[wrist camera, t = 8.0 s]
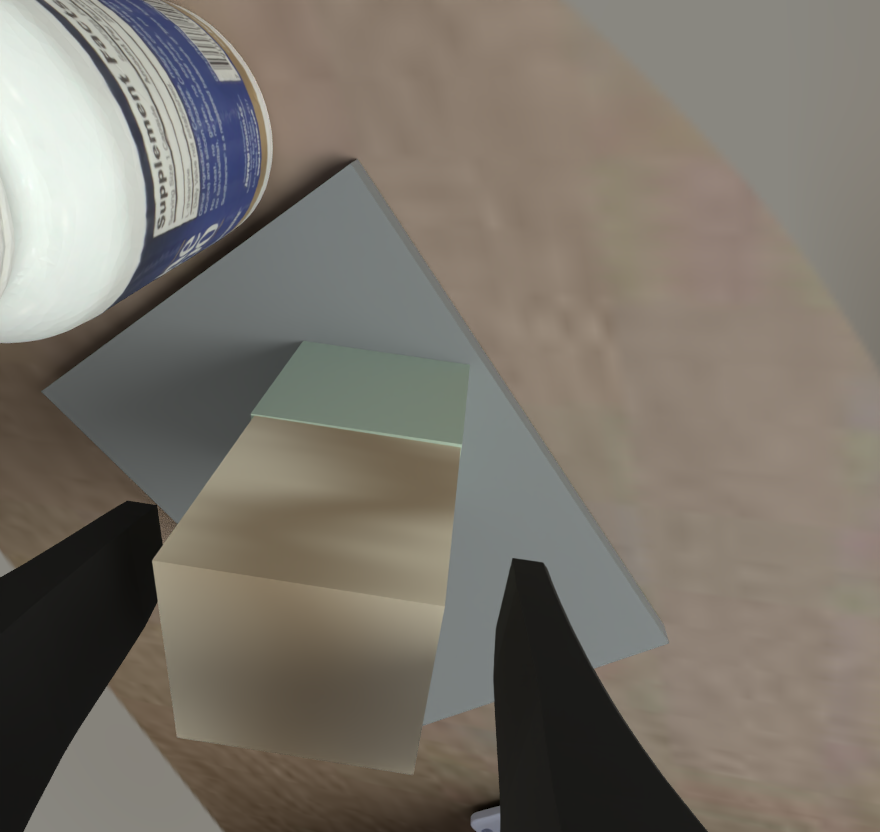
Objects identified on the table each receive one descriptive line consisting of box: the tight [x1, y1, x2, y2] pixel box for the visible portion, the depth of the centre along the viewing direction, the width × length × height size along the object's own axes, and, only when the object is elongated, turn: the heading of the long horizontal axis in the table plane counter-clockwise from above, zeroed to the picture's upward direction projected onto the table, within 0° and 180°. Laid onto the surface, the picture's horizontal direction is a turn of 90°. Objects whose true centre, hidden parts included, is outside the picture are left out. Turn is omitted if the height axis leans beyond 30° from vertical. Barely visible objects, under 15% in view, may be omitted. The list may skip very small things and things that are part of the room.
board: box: [41, 159, 669, 726], centre depth 20 cm, size 18×12×1 cm, turn 33°
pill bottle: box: [0, 0, 273, 343], centre depth 11 cm, size 5×5×10 cm
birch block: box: [152, 416, 461, 775], centre depth 12 cm, size 4×4×4 cm
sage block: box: [251, 341, 470, 461], centre depth 16 cm, size 4×4×4 cm
